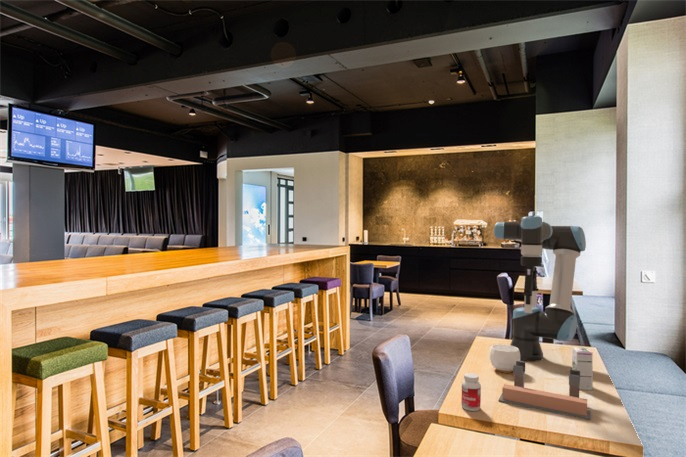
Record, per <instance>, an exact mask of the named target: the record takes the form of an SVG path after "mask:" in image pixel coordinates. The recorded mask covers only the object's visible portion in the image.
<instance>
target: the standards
mask: <svg viewBox="0 0 686 457" xmlns="http://www.w3.org/2000/svg"><path fill="white" fill-rule="evenodd" d="M525 373H526V362H525V361H522V360H520V361H516V365H514V366H513V371H512V375H513V377H514V378H513V379H514V381H513V382H514V383H513V386H518V387H523V388H525ZM568 385H569V392H568V394H569V395H568V396H572V397H577V398H580V389H579V386H580V371H578V370H572V369H569V374H568Z"/></svg>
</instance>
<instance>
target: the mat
mask: <svg viewBox="0 0 686 457" xmlns="http://www.w3.org/2000/svg"><path fill="white" fill-rule="evenodd" d="M500 394H501V395H500V396H499V398H498V402H499V403H504V404H509V405H515V406H519V407H523V408H528V409H533V410H539V411H544V412H549V413H553V414H558V415H562V416H567V417H568V416H569V417H572V418H578V419H582V420H586V421H587V420H588V421H591V420H592V419H591V409H590V410H589V409H587V416H584V415H579V414H574V413H569V412H565V411H560V410H555V409H550V408H545V407H540V406H535V405H530V404H525V403H520V402H515V401H510V400H505V399H502V393H500Z"/></svg>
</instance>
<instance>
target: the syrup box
mask: <svg viewBox="0 0 686 457" xmlns="http://www.w3.org/2000/svg"><path fill="white" fill-rule="evenodd" d="M571 351H572V352H571V354H572V356H571V358H572V359H571V360H572V361H571V362H572V365H571V366H572V370H578V371H580V386H579V390H583V391H584V390H586V391H588V390H589V391H592V390H593V385H594V384H593V383H594V382H593V380H594V378H593V377H594V375H593V373H594V371H593V365H594V364H593V352H592V351H591V350H590V349H588V348H586V347H580V346H579V347H576V346H575V347H572V349H571Z"/></svg>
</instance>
